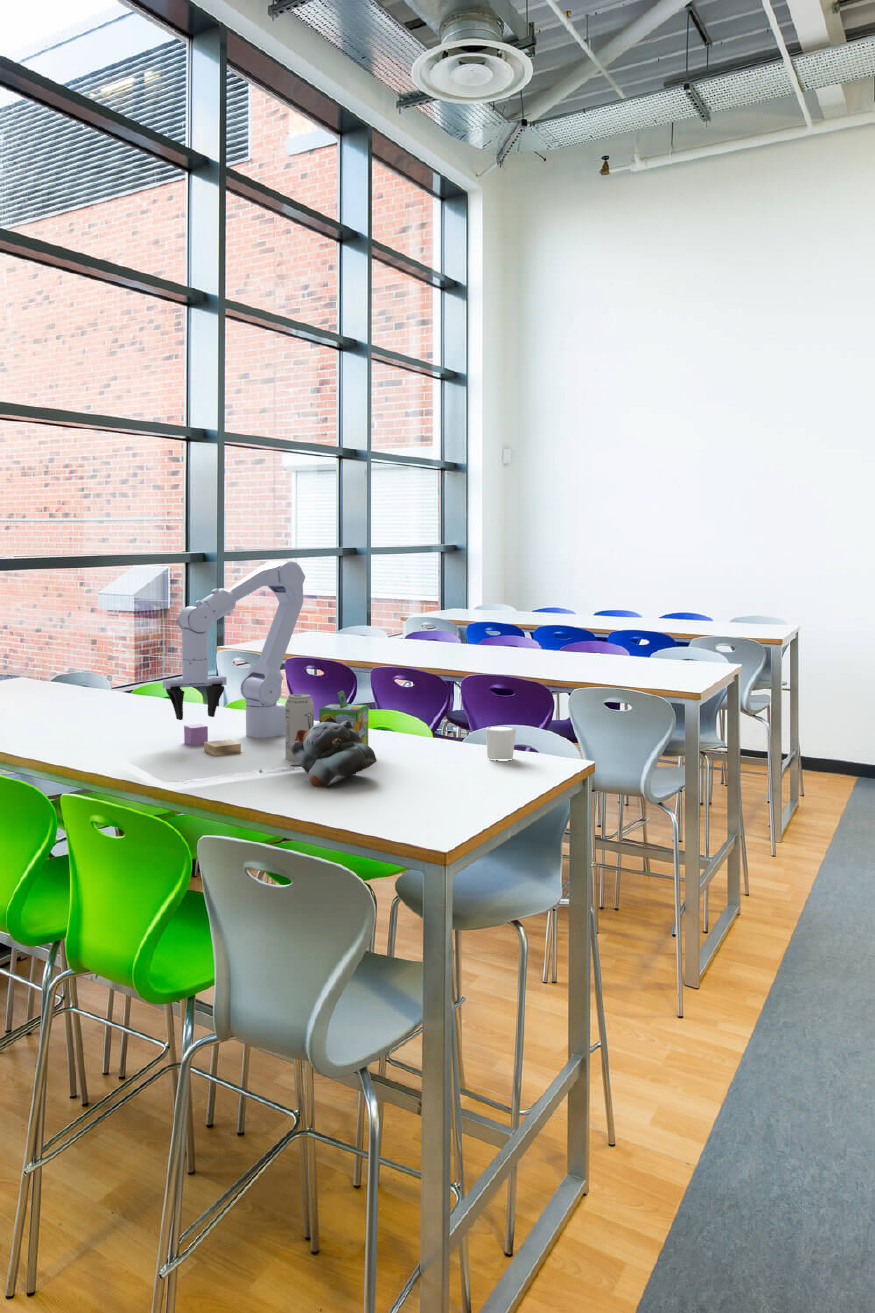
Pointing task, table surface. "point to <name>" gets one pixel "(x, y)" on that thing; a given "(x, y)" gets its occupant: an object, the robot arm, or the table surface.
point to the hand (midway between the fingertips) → (195, 717)
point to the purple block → (195, 734)
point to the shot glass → (500, 742)
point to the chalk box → (348, 716)
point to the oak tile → (222, 747)
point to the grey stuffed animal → (331, 752)
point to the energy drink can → (297, 720)
